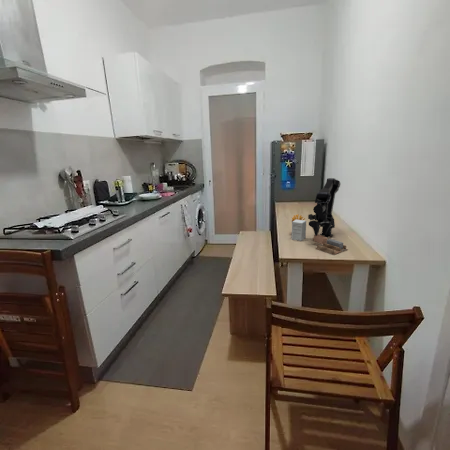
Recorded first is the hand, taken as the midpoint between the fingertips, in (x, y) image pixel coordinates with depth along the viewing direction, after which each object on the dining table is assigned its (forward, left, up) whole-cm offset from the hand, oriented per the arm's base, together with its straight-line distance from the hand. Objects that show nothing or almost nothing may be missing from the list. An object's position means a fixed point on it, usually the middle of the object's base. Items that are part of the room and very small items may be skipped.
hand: (320, 234), depth 168 cm
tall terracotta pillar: (0, 0, -5) cm, 5 cm away
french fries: (-1, -20, -5) cm, 21 cm away
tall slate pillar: (+3, +13, -5) cm, 14 cm away
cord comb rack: (+6, +13, -5) cm, 15 cm away
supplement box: (+6, -13, -5) cm, 15 cm away
